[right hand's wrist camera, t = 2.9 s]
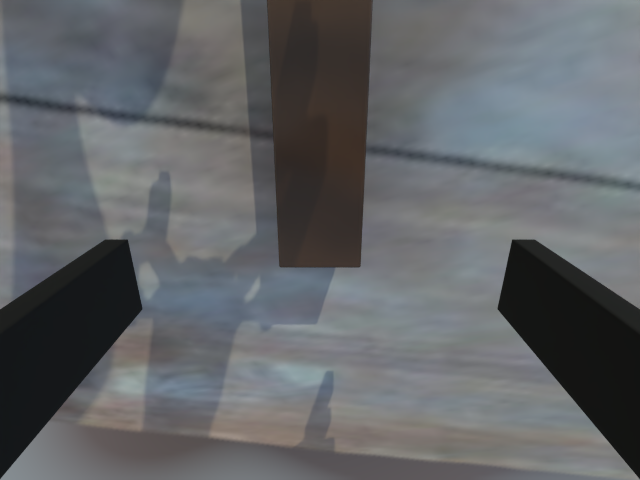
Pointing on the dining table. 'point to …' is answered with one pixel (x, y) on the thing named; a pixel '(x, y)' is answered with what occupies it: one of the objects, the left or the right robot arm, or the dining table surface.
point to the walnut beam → (319, 127)
